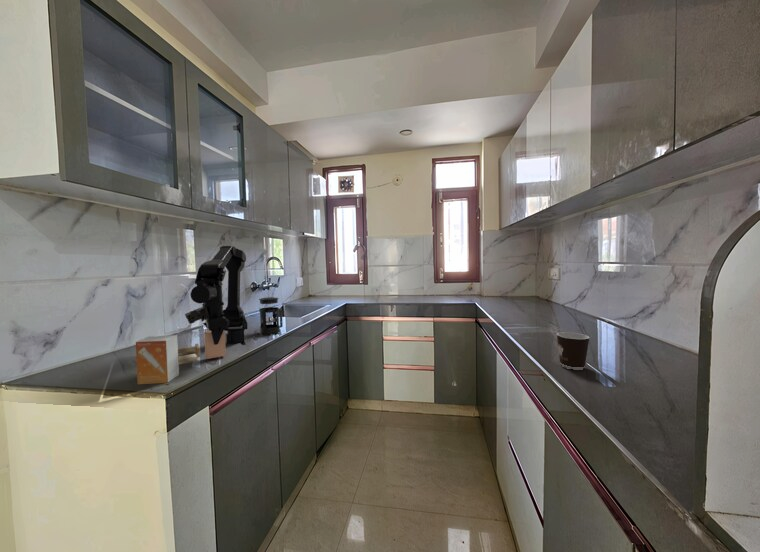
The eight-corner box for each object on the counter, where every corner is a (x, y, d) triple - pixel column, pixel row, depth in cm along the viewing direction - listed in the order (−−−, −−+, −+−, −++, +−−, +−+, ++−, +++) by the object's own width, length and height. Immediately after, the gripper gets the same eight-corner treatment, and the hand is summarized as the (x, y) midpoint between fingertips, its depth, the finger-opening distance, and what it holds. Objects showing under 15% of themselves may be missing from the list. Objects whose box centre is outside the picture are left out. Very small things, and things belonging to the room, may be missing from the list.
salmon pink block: (224, 353, 111) (223, 329, 110) (225, 355, 108) (224, 330, 108) (205, 356, 107) (204, 331, 107) (206, 359, 105) (205, 333, 104)
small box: (137, 387, 86) (134, 341, 85) (150, 378, 92) (148, 336, 91) (168, 385, 87) (166, 340, 86) (179, 376, 93) (177, 334, 92)
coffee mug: (589, 374, 90) (590, 340, 89) (555, 369, 94) (556, 337, 94) (587, 362, 99) (588, 332, 99) (557, 358, 104) (557, 329, 104)
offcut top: (195, 357, 109) (195, 353, 109) (197, 360, 105) (197, 356, 105) (176, 361, 105) (176, 356, 105) (177, 364, 102) (177, 359, 102)
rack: (197, 353, 117) (197, 343, 116) (200, 358, 110) (200, 347, 110) (169, 358, 111) (168, 347, 111) (170, 364, 105) (170, 352, 104)
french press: (254, 334, 145) (252, 286, 144) (265, 330, 154) (264, 285, 153) (276, 335, 143) (275, 286, 142) (286, 331, 152) (285, 285, 151)
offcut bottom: (196, 361, 109) (196, 357, 109) (198, 365, 105) (198, 361, 105) (175, 365, 105) (174, 361, 105) (176, 369, 101) (176, 365, 101)
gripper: (183, 299, 109) (185, 342, 110) (189, 304, 95) (191, 354, 95) (218, 296, 116) (220, 337, 117) (228, 301, 101) (230, 347, 102)
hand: (215, 343), depth 108 cm, fingers closed on salmon pink block, 3 cm apart
